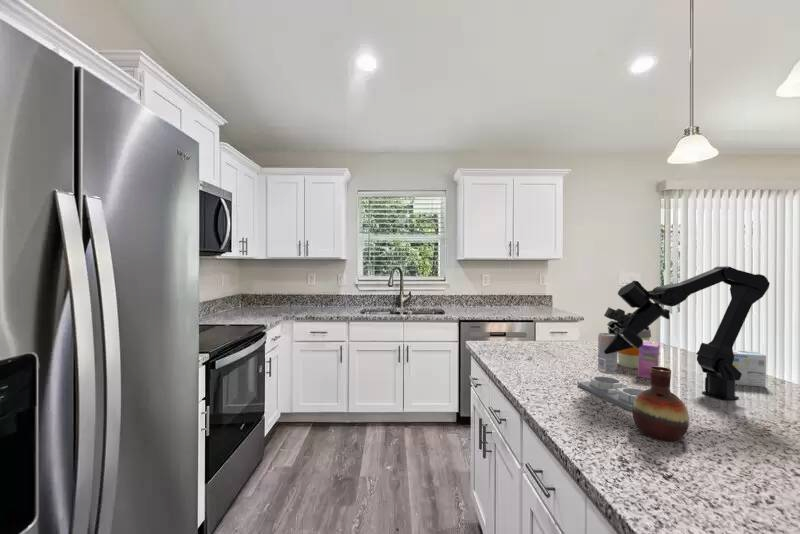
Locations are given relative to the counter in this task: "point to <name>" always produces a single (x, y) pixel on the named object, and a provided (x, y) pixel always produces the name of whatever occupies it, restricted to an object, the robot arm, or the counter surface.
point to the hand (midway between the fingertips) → (602, 351)
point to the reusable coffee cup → (632, 352)
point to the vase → (660, 409)
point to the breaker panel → (612, 390)
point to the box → (648, 358)
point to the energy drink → (606, 361)
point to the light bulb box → (750, 368)
